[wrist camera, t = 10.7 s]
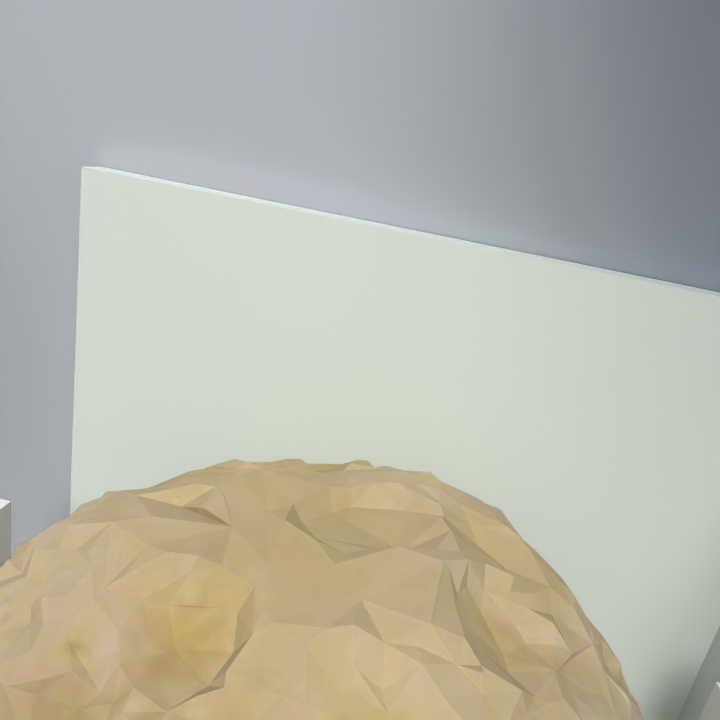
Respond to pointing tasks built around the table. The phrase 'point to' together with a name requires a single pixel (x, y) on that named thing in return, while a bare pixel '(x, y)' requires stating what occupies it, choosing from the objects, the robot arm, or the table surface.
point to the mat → (416, 388)
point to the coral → (296, 606)
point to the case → (703, 682)
